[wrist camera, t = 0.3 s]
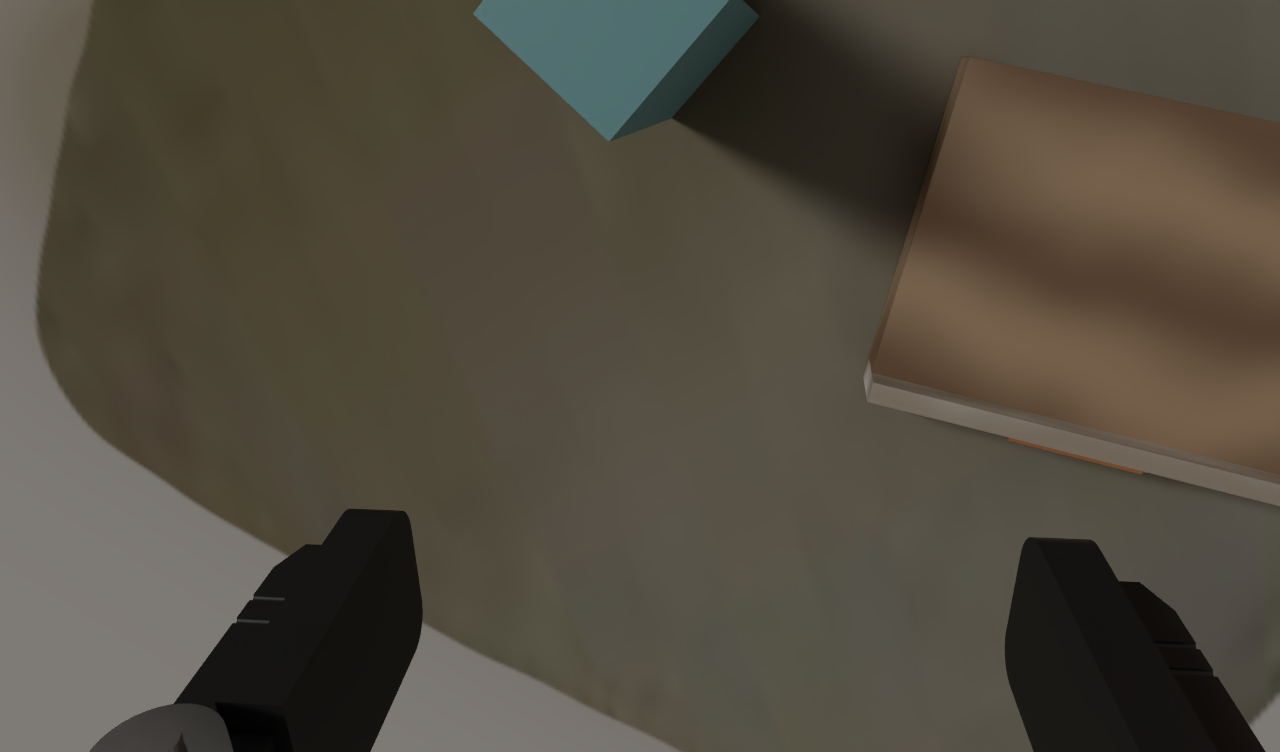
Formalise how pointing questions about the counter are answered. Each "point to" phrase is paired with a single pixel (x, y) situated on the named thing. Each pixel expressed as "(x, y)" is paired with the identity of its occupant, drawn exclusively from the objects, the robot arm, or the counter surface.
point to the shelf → (1094, 280)
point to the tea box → (620, 51)
